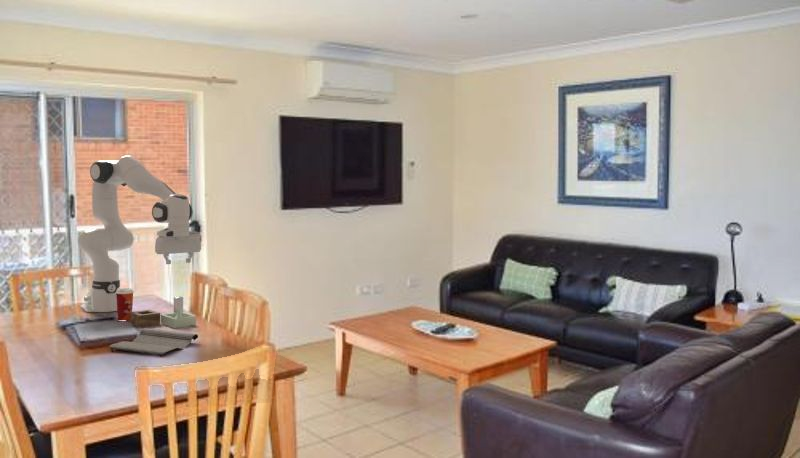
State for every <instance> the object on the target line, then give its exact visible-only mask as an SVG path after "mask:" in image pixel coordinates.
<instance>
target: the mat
mask: <svg viewBox="0 0 800 458" xmlns="http://www.w3.org/2000/svg"><path fill="white" fill-rule="evenodd" d="M197 339H199V335H198V334H197V333H192V332H191V333H190V332H181V331H176V330H175V331H174V330H165V329H157V328H148V327H144V328H142V329H141V330H140V332H139V334H138V335H137V336H136V338H134V339H133V340H132V341H127V340H126V341H125V340H122V341H119V342H116V343H113V344H110V345H109V346H108V349H110V350H111V352H112V353H113V352H114V351H113V350H118V351H125V352H133V353H141V354H147V355H155V356H160V357H163V356H165V354H166V353H169V352H172V351H174V350H184V349H186V348H187V347H188V346H189V345H190V344H191V342H192V341H196V340H197Z"/></svg>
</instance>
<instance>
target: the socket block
mask: <svg viewBox="0 0 800 458" xmlns="http://www.w3.org/2000/svg"><path fill="white" fill-rule="evenodd" d="M130 323H131V324H130ZM129 324H130V325H132V326H136V327H139V328H143V327H144V328H146V327H152V326H157V325H161V313H160V312H158V311H155V310H152V309H146V310H139V311H138V310H137V311H132V312H130V321H129Z"/></svg>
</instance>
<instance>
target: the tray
mask: <svg viewBox="0 0 800 458" xmlns="http://www.w3.org/2000/svg"><path fill="white" fill-rule="evenodd" d="M195 324H196V325H197V316H196V315H194V314H190V313H187V312H185V311H183V318H176V319H175V318H174V312H169V313H163V314H160V325H165V326H167V327H170V328H172V329H178V328H186V327H191V326H190V325H193V326H196V325H195Z"/></svg>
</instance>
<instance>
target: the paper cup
mask: <svg viewBox="0 0 800 458" xmlns="http://www.w3.org/2000/svg"><path fill="white" fill-rule="evenodd" d="M115 293H116V298H117V311H116V312H117V313H116V314H117V321H118V320H126V321H128V322H130V312H133V302H134V293H135V290H134V289H133V288H130V287H128V288H127V287H124V288H123V287H122V288H120V289H117V290H116V292H115Z"/></svg>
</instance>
